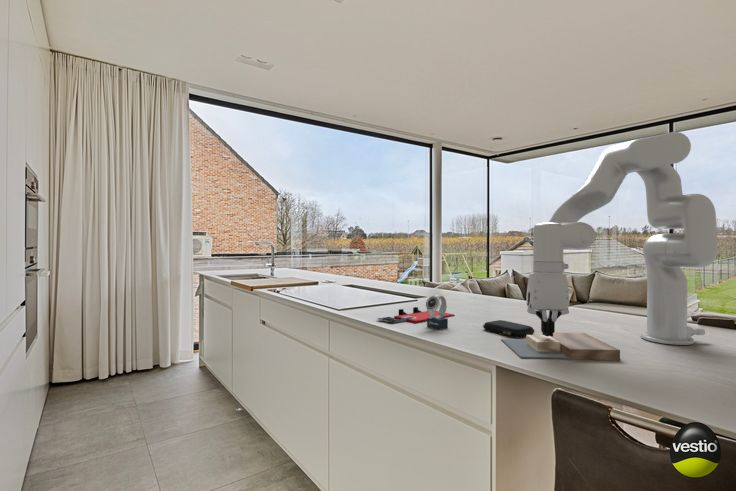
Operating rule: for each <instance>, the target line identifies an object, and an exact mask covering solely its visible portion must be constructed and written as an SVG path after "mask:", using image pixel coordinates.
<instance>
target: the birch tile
mask: <svg viewBox="0 0 736 491" xmlns="http://www.w3.org/2000/svg"><path fill="white" fill-rule="evenodd" d="M525 339H526V344H527V345H529V346H530V347H532V348H533V349H534V350H536V351H537V352H560V342H559V341H557V340H556V339H554V338H552V337H550V336H545V335H543V334H532V335H526V336H525Z"/></svg>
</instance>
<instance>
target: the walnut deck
mask: <svg viewBox="0 0 736 491" xmlns="http://www.w3.org/2000/svg"><path fill="white" fill-rule="evenodd" d="M542 335H544V334H543V333H542ZM550 337H552V338H554V339H556V340H557V341H559V342H560V351H561V352H562V353H564V354H565V355H567V356H569V357H570V359H569V360H600V361H601V360H604V361H605V360H607V361H621V350H620V349H619V348H617V347H615V346H613V345H610V344H609V343H606V342H604V341H602V340H600V339H598V338H595V337H594V336H591V335H589V334H587V333H585V332H554V333H553V336H550Z"/></svg>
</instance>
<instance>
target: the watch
mask: <svg viewBox="0 0 736 491" xmlns="http://www.w3.org/2000/svg"><path fill="white" fill-rule="evenodd" d="M440 302H441V304H440ZM425 307H426V311H428V314H429V316H430V317H429V318H427V321H426V327H427V328H430V329H435V330H443V329H449V328H448V327H449V325H448V322H449V319H448V317H447V318H442V317H443V316H444V314H445V313H447V312H446V311H447V307H448V306H447V299H446V297H445V296H443V295H441V294H440V295H438V294H433V295H432V296H429V298H427V300H426V302H425ZM438 308H439V310H438V311H439V312H438V316H435V315H434V313H435V311H437V309H438Z"/></svg>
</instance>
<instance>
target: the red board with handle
mask: <svg viewBox="0 0 736 491" xmlns="http://www.w3.org/2000/svg"><path fill="white" fill-rule="evenodd" d="M438 312H439V310H436V311H435V313H434V315H435V316H438ZM455 316H456V315H455V314H453V313H447V312H445V314H444V316H443V317H442V318H447V319H448V318H452V317H455ZM429 317H430V316H429V314H428V311H427V310H425V311H422V310H420V309H419V307H416V306H415V307H413V309H412V313H407V312H405V311H404V309H403V308H400V309H398V315H394V316H393V317H390V316H386V317H380V318H379V317H378V318H377V320H379V321H383V322H388V323H390V324H393V323H397V322H398V323H399V322H403V323H406V322H407V323H411V324H416V325H417V324H421V323H425V322H426V323H427V318H429Z"/></svg>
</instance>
